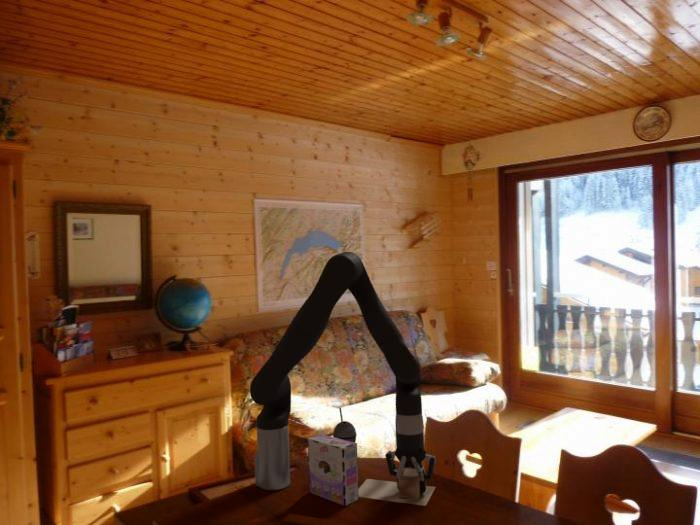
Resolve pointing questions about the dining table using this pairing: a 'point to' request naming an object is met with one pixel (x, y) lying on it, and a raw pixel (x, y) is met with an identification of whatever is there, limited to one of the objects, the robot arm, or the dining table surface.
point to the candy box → (333, 469)
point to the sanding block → (409, 485)
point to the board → (390, 492)
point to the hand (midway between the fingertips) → (412, 492)
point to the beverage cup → (345, 430)
